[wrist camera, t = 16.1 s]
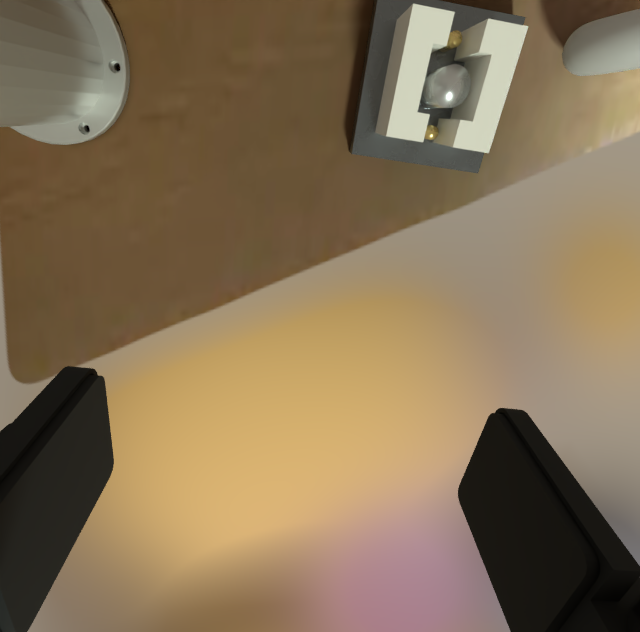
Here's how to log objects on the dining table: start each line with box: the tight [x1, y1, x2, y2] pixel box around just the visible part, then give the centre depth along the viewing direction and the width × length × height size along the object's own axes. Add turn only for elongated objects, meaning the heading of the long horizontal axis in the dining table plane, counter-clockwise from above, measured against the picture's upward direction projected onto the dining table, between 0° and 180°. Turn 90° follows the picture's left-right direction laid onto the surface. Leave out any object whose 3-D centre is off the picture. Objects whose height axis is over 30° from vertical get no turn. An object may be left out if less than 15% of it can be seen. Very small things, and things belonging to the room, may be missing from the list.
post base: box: [349, 0, 525, 173], centre depth 30 cm, size 11×11×6 cm
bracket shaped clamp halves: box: [375, 4, 528, 153], centre depth 29 cm, size 8×8×5 cm
